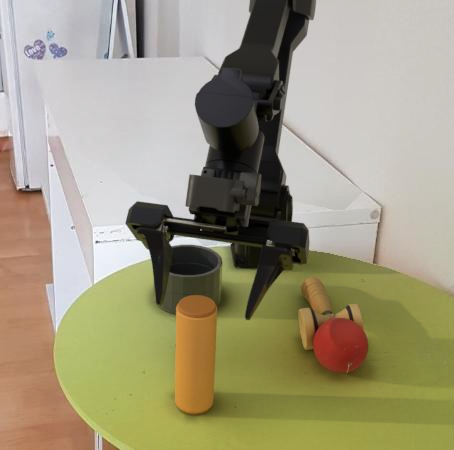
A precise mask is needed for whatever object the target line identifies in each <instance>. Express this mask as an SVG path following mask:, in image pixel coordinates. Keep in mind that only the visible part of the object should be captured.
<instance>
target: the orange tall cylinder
mask: <svg viewBox="0 0 454 450" xmlns="http://www.w3.org/2000/svg"><path fill="white" fill-rule="evenodd" d="M217 327H218V306H216V304H215V302H214V301H213V300H212V299H210V298H208V297H206V296H201V295H191V296H187V297H184V298H183V299H181V300H180V301H179V303H178V305H177V307H176V314H175V356H174V357H175V359H174V360H175V364H174V365H175V367H174V402H175V405H176V406H177V408H178V410H180V411H181V412H183V413H184V414H187V415H191V416H192V415H193V416H194V415H195V416H197V415H202V414H204V413H206V412H208V411H209V410H210V408H212V406H213V404H214V399H215V398H214V396H215V378H216V377H215V375H216V355H217V354H216V353H217V352H216V350H217V330H218V329H217Z"/></svg>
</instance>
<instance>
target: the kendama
mask: <svg viewBox="0 0 454 450" xmlns="http://www.w3.org/2000/svg"><path fill="white" fill-rule="evenodd" d="M300 292H301V294H302V296H303V298H305V300H306V301H307V303H308V304H309V306H310V307H311V308H310V307H302V308H299V309H298V311H297V312H298V318H297V319H298V327H299V333H300V337H301V342H302V346H303V349H304V350H306V351H309V350H313V353H314V355H315V358H316V359H317V361H318V363H320V365H321V366H322V367H323V368H325V369H326V370H328V371H330V372H333V373H338V374H348V373H351V372H353V371H355V370H357V369H359V368H360V366H361V365H363V363H364V362H365V360H366V358H367V355H368V352H369V341H368V340H369V339H368V337H367V334H366V332H365V327H364V320H363V315H362V311H361V309H360V306H359V305H358V303H348V304H347V305H346V306H345V308H343V309H342V310H340V311H339V312H337V313H334V312H333V306H332V303H331V301H330V299H329V296H328V294H327V292H326V289H325V285H324V283H323V281H322V280H321V279H320V278H317V277H309V278H307V279H306V280H304V282H303V283H301V288H300Z"/></svg>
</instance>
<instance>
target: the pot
mask: <svg viewBox="0 0 454 450" xmlns="http://www.w3.org/2000/svg"><path fill="white" fill-rule="evenodd" d="M171 247H172V248H173V255H172V261H171V267H170V272H169V278H168V284H167V290H166V295H165V298H164V301H163V304H162V306H158V305H157V304H156V296H155V286H154V285H153V300H154V304H155V305H156V306H157V307H158V308H159V309H161V310H162V311H164V312H166V313H169V314H173V315H176V307H177V305H178V303H179V301H180V300H181V299H183V298H184V297H187V296H191V295H201V296H206V297H208V298H210V299H212V300H213V301H214V302H215V304H216V306H217V307H218V306H219V304H220V302H221V298H222V285H223V284H222V282H223V281H222V280H223V258H222V256H221V255H220V253H218V252H217V251H215V250H214V249H211V248H209V247H206V246H203V245H197V244H177V245H171Z"/></svg>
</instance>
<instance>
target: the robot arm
mask: <svg viewBox="0 0 454 450" xmlns="http://www.w3.org/2000/svg"><path fill="white" fill-rule="evenodd" d="M316 7H317V0H249V5H248V13H249V17H248V20H247V23H246V27H245V28H244V33H243V35H242V39H241V42H240V45H239V47H238V48H237V49H235V50H234V51H232V52H231V53H229V54H227V55H226V56H225V57H224V59H223V61H222V63H221V66H220V68H219V70H218V73H217V74H214V75H213V77H212V78H211V80H209V81H207V82H206V83H205V84H204V85H202V86H201V88H200V89H199V91H198V92H197V93H196V94H195V98H194V108H195V113H196V116H197V118H198V121H199V125H200V127H201V130H202V133H203V137H204V140H205V142H206V143H207V145H209V146H208V151H207V155H206V160H205V165H204V166H203V167H202V170H201V174H189V175H188V183H187V189H186V190H187V191H186V197H185V205H184V206H185V207H187V208H188V213H189V214H190V215H193V219H192V218H185V217H179V216H174V214H173V213H172V211H171V209H170V207H169V205H168V204H163V203H162V204H161V203H153V202H147V201H139V200H137V201H136V202H134V203H133V204H132V205H131V206H130V207H129V209H128V212H127V215H126V219H125V225H126V227H127V228H128V229H129V231H130V233H131V234H132V235H133V237H134V238H135V240H137V241H139V242H141V243H142V245H143V246H144V248H145V249H146V250H148V251H149V255H150V261H151V265H152V266H151V267H152V275H153V287H154V286H155V296H156V303H155V305H156V304H157V305H158V306H162V304H163V301H164V298H165V295H166V290H167V284H168V278H169V272H170V267H171V261H172V255H173V248H172V247H171V246H172V245H171V242H172V241H173V240H174V237H175V236H176V237H177V236H178V237H184V238H193V239H199V240H206V241H213V242H221V243H227V244H230V253H231V259H232V264H233V267H235V268H257V269H256V272H255V275H254V279H253V281H252V285H251V288H250V291H249V295H248V299H247V302H246V308H245V314H244V318H245V320H246V321H251V319H252V318H253V316H254V314H255V313H256V311H257V309H258V307H259V306H260V304H261V302H262V300H263V299H264V297H265V296H266V294H267V293H268V291H269V289H270V288H271V287H272V286H273V284H274V283H275V281H276V280H277V279H278V278H279V277H280V275H281V274H282V273H283V272H284V271H293V270H294V265H300V266H302V265H307V263H308V257H309V250H310V242H311V241H310V230H309V228H308V227H307V225H306V224H305V223H304V222H297V221H293V216H294V215H293V214H294V213H293V212H294V202H293V200H294V199H293V196H292V194H291V192H290V186H289V185H286V184H287V174H286V171H285V169H284V167H283V164H282V161H281V159H280V156H279V151H280V145H281V138H282V131H283V124H284V118H285V117H284V116H285V109H286V103H287V97H288V96H287V95H288V90H289V82H290V75H291V68H292V61H293V55H294V51H296V49H297V48H298V47H299V46H300V44H301V43H302V42H303V41H304V40H305V39H306V38H307V35H308V32H309V24H310V21H314V19H315V14H316ZM157 305H156V306H157ZM158 306H157V307H158Z"/></svg>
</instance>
